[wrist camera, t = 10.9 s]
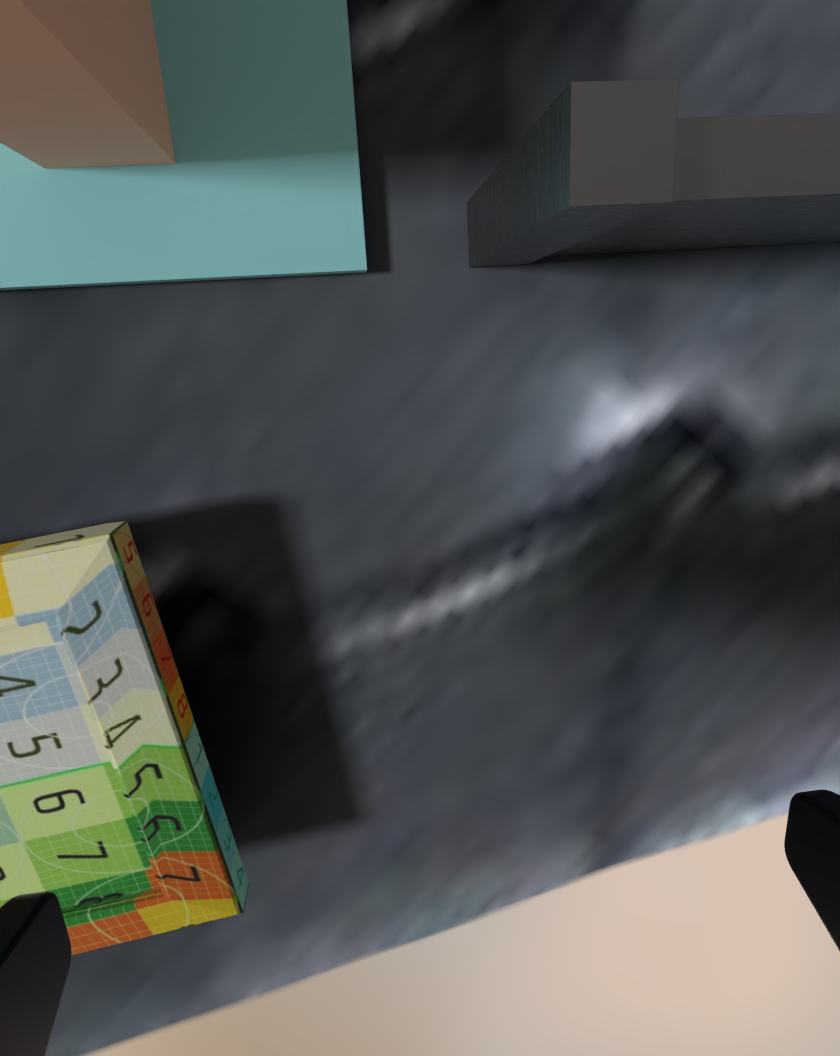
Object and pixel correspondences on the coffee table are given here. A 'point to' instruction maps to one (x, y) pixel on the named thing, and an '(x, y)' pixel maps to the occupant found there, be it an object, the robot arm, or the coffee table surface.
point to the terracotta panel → (82, 83)
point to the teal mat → (210, 163)
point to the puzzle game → (103, 749)
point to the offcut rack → (655, 179)
